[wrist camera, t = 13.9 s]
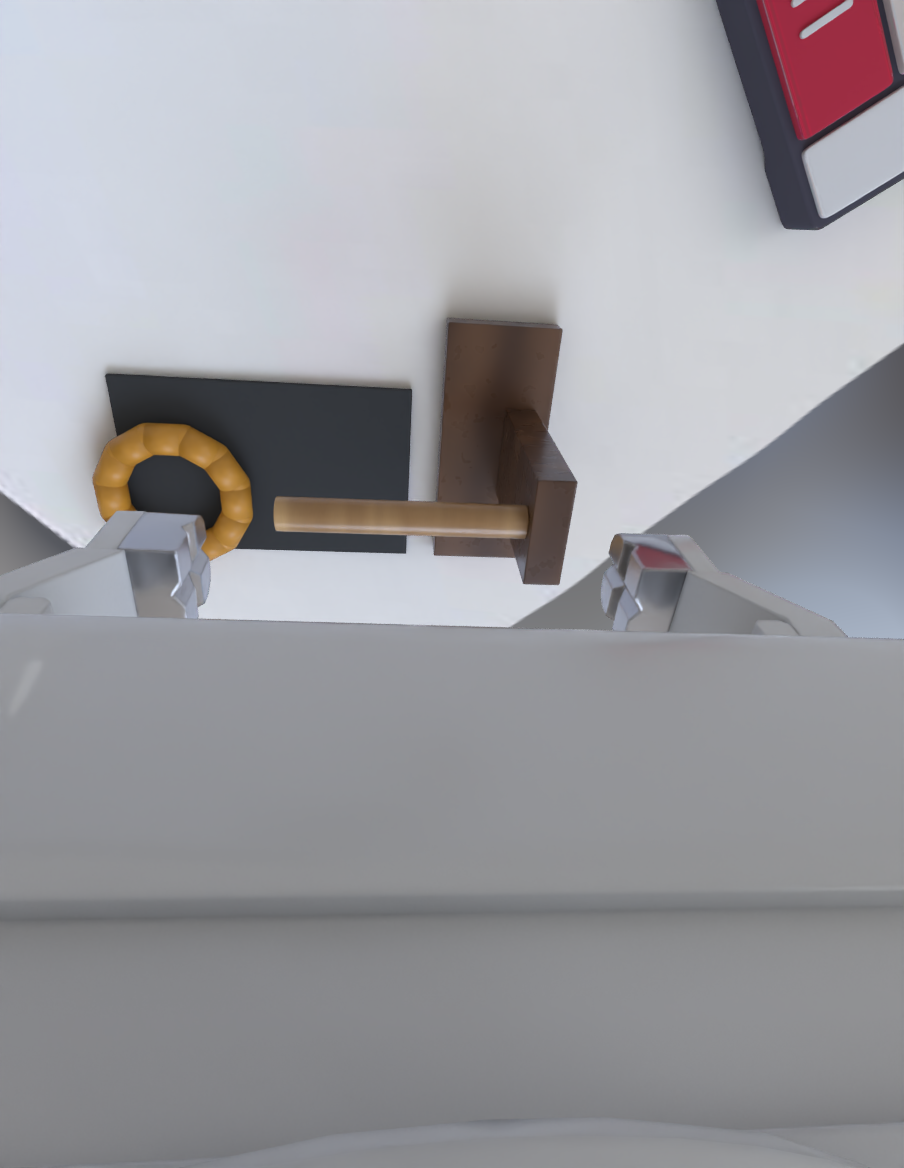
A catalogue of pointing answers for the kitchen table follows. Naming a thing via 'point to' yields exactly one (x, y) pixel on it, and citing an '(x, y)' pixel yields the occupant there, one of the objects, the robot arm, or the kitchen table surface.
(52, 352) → the kitchen table surface
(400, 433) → the mat
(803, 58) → the calculator
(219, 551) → the ring
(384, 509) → the rack
